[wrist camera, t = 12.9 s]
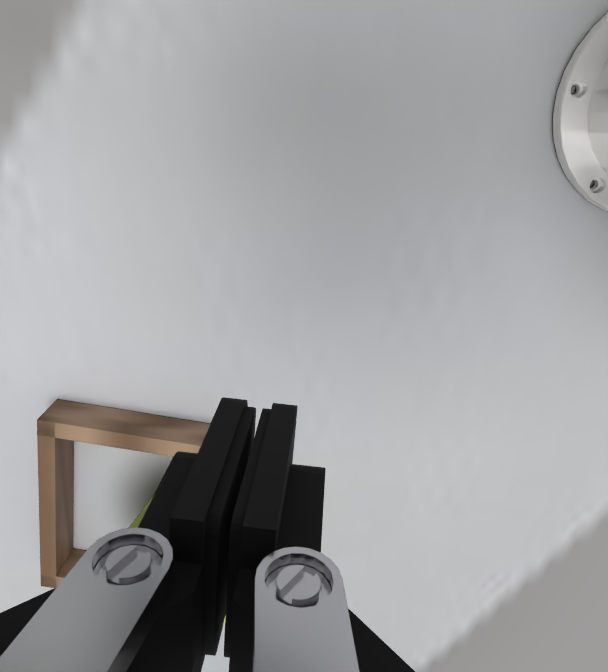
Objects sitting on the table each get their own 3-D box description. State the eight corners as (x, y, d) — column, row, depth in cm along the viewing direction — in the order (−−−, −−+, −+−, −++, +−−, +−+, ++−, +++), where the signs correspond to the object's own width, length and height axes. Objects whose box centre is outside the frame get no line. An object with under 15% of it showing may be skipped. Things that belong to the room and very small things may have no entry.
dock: (236, 427, 41) (228, 450, 38) (216, 582, 46) (208, 612, 43) (57, 398, 41) (37, 419, 38) (58, 557, 46) (40, 585, 43)
